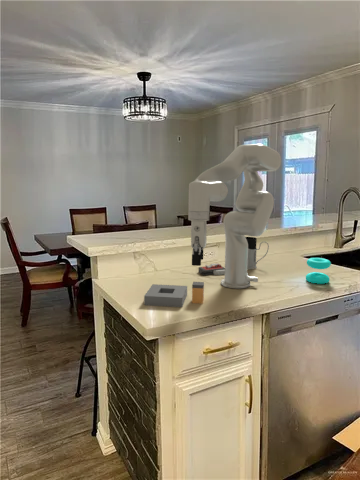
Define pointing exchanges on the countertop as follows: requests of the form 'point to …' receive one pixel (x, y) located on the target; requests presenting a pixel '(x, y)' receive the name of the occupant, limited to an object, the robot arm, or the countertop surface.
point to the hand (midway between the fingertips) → (197, 262)
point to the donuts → (317, 276)
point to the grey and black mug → (253, 252)
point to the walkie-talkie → (212, 270)
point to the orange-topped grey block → (197, 292)
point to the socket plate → (166, 295)
